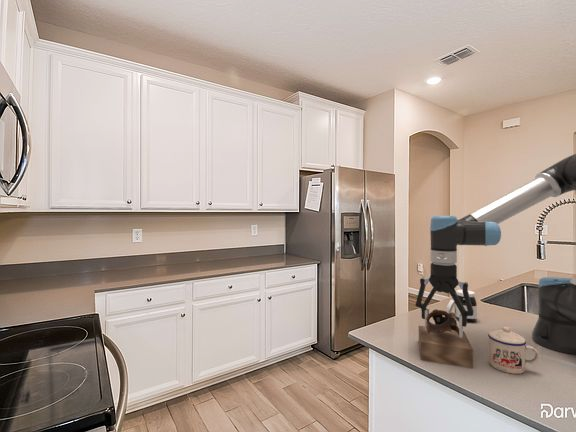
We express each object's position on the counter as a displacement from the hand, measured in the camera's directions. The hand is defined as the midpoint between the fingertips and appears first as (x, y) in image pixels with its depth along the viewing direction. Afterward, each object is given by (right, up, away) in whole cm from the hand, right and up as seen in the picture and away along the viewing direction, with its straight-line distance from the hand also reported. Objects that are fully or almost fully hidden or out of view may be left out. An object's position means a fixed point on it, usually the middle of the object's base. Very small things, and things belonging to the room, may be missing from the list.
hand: (443, 332), depth 96 cm
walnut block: (0, -7, 0) cm, 7 cm away
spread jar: (+24, -7, +32) cm, 41 cm away
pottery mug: (0, 0, 0) cm, 1 cm away
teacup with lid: (+16, -7, -9) cm, 19 cm away
